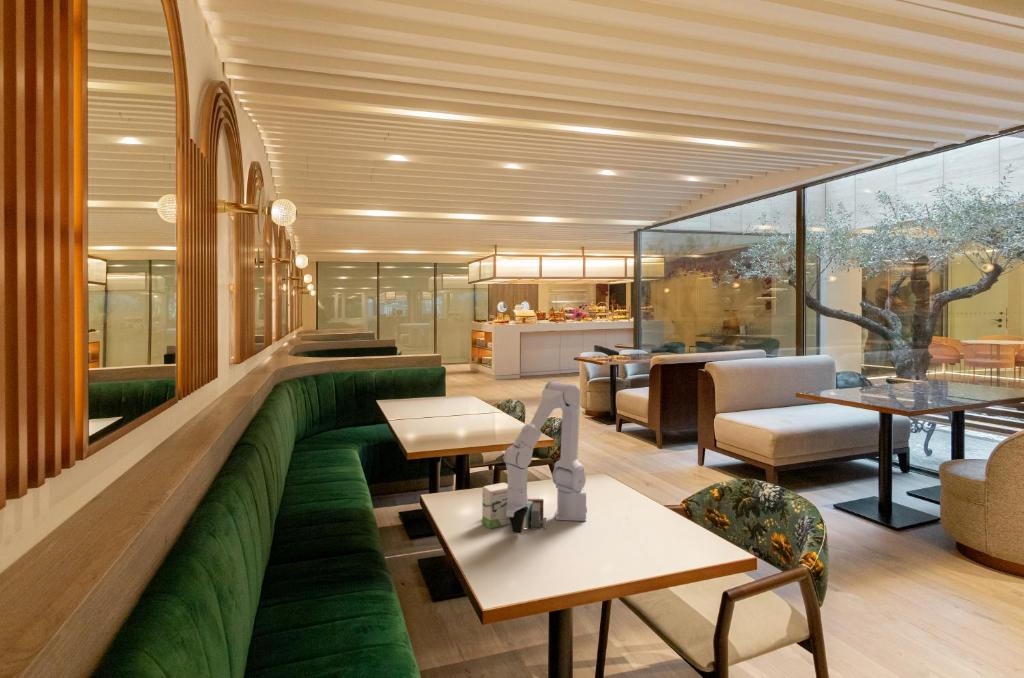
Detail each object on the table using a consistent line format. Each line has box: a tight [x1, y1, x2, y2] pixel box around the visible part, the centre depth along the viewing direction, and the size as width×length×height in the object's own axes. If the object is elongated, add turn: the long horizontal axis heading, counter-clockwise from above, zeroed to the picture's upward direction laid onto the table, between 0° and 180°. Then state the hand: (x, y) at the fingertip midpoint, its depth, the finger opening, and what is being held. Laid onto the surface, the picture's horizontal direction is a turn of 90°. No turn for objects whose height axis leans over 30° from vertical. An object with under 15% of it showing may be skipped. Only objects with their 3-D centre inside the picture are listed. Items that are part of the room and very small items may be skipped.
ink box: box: [481, 482, 511, 529], centre depth 181 cm, size 9×5×12 cm, turn 123°
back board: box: [527, 498, 544, 518], centre depth 186 cm, size 17×1×6 cm, turn 84°
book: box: [522, 501, 533, 529], centre depth 181 cm, size 4×8×6 cm, turn 166°
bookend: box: [530, 502, 547, 530], centre depth 181 cm, size 4×8×6 cm, turn 174°
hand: (517, 532), depth 172 cm, fingers closed
